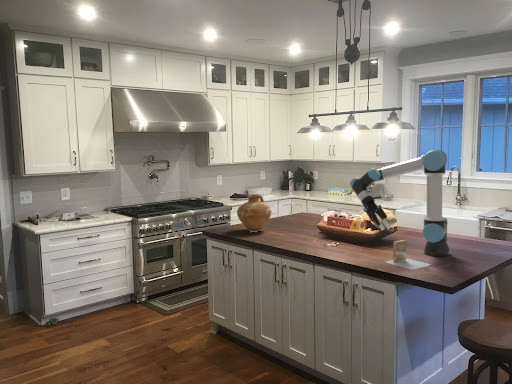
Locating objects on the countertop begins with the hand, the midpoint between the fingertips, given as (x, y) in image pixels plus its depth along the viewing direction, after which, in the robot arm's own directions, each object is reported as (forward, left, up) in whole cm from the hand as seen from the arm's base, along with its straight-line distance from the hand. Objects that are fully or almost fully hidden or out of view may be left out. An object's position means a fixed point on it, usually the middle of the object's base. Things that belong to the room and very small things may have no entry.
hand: (386, 228), depth 268 cm
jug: (+58, -108, -18) cm, 125 cm away
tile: (-4, +10, -18) cm, 20 cm away
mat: (-5, +15, -18) cm, 24 cm away
